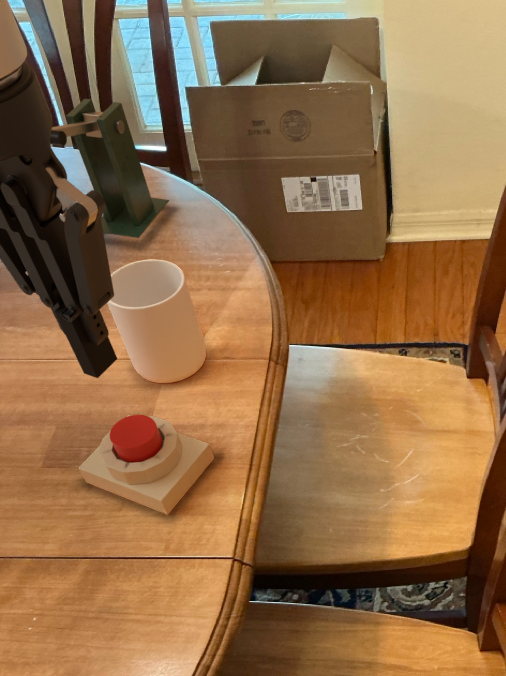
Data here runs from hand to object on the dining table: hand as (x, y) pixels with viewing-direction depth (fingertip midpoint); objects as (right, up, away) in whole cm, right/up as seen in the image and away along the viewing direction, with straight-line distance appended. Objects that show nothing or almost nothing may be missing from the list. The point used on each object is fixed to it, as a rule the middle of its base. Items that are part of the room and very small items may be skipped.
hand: (100, 365), depth 66 cm
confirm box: (+1, -8, +11) cm, 13 cm away
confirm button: (+1, -6, +8) cm, 10 cm away
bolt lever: (-12, +31, +23) cm, 41 cm away
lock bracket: (-10, +27, +37) cm, 47 cm away
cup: (0, +7, +22) cm, 23 cm away
